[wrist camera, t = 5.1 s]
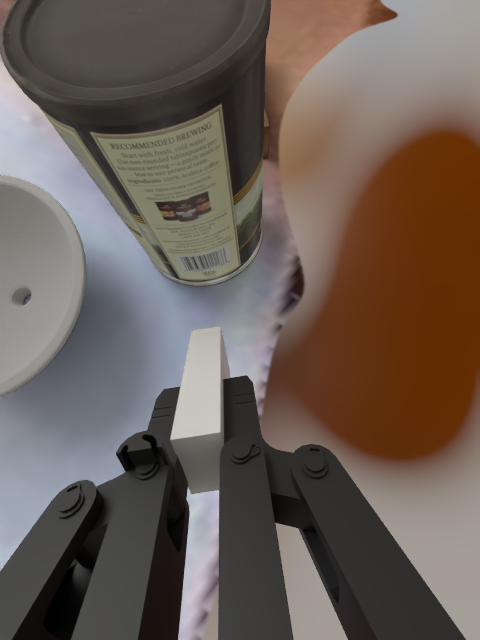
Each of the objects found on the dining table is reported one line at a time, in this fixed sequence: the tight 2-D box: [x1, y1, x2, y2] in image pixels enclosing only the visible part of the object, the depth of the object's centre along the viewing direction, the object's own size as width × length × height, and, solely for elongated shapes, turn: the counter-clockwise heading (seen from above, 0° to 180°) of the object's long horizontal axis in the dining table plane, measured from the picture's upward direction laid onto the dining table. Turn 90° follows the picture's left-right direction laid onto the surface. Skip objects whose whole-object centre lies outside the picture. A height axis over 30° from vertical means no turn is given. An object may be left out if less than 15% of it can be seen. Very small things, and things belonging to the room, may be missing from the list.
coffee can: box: [0, 0, 271, 286], centre depth 17 cm, size 10×10×14 cm
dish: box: [0, 175, 86, 397], centre depth 20 cm, size 18×14×5 cm
